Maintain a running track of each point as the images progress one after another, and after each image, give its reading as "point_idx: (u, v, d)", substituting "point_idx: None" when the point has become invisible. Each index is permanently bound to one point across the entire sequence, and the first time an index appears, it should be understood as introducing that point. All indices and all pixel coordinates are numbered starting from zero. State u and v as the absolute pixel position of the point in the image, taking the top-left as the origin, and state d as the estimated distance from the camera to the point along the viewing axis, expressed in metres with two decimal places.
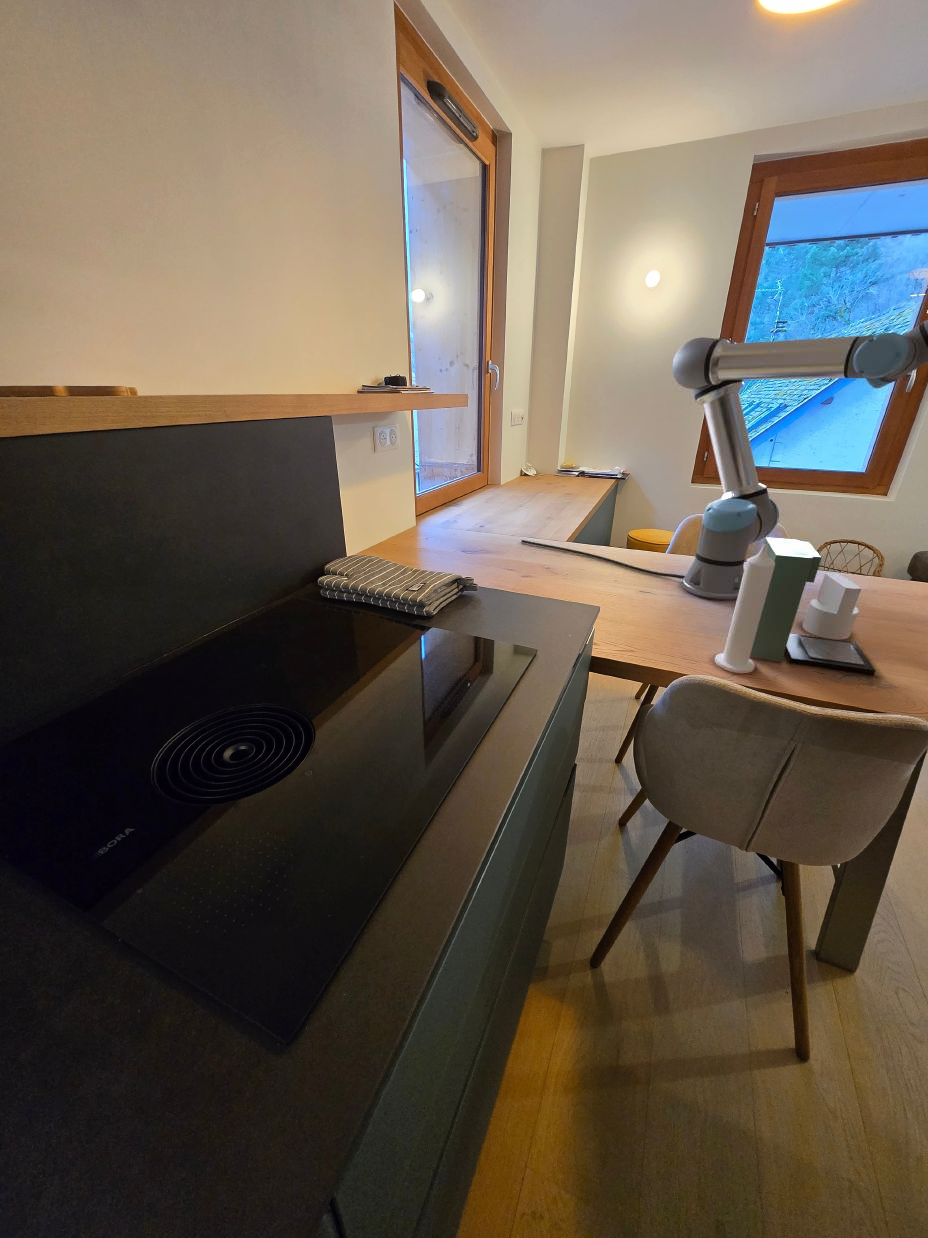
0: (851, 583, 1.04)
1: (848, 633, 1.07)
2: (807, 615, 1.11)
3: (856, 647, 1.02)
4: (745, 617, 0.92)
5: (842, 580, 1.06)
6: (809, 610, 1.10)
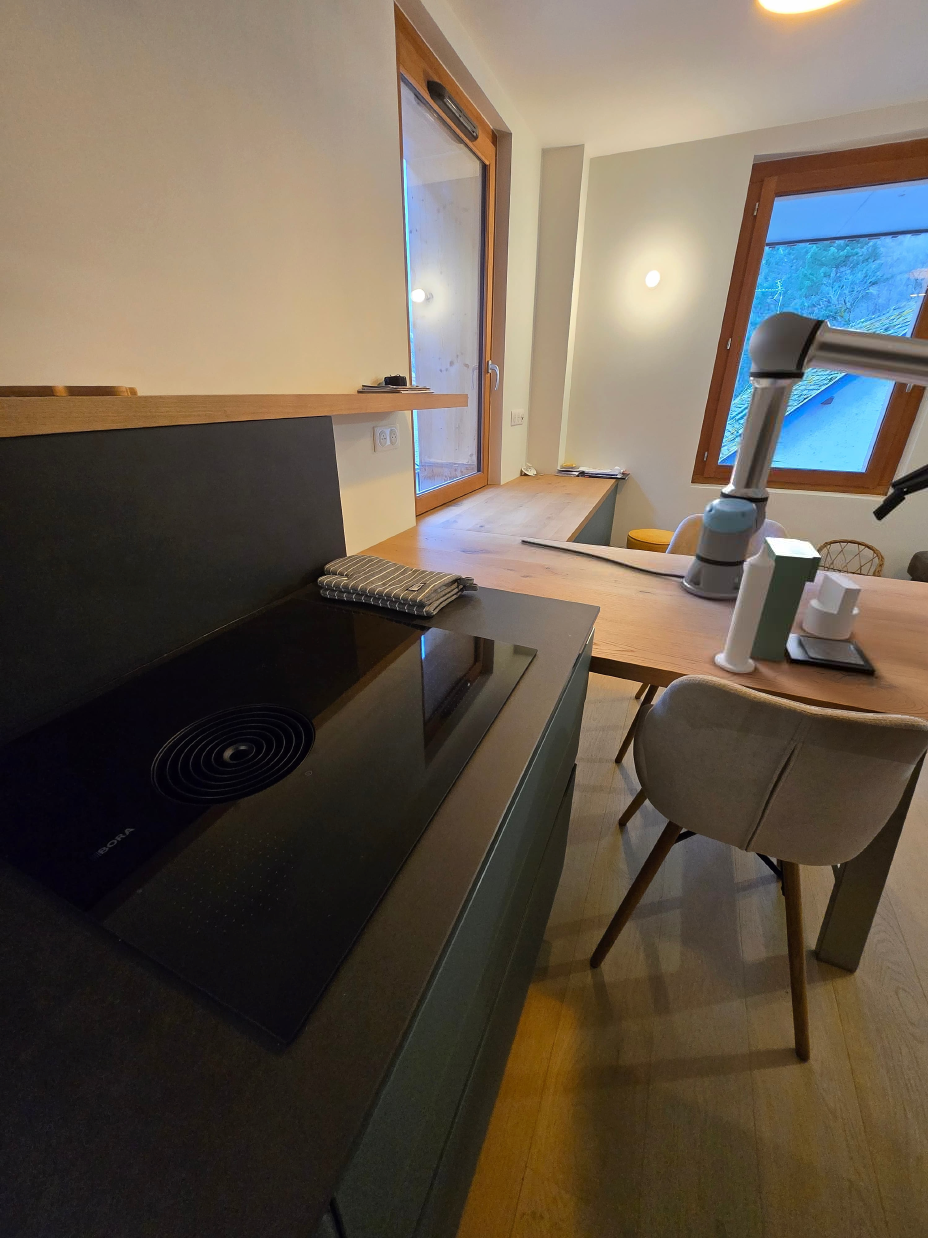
0: (851, 583, 1.04)
1: (848, 633, 1.07)
2: (807, 615, 1.11)
3: (856, 647, 1.02)
4: (745, 617, 0.92)
5: (842, 580, 1.06)
6: (809, 610, 1.10)
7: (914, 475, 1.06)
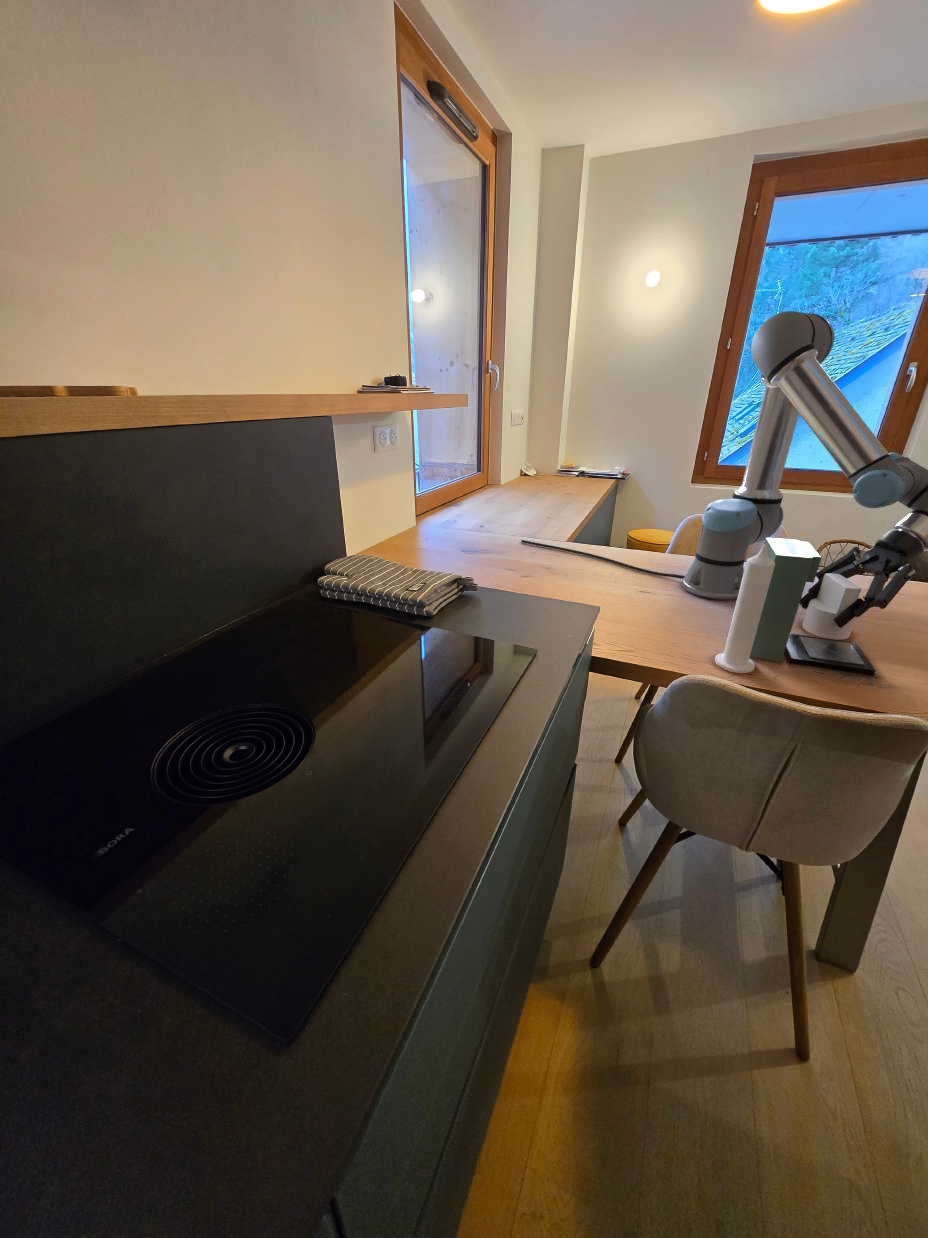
0: (851, 583, 1.04)
1: (848, 633, 1.07)
2: (807, 615, 1.11)
3: (856, 647, 1.02)
4: (745, 617, 0.92)
5: (842, 580, 1.06)
6: (809, 610, 1.10)
7: (836, 565, 1.12)
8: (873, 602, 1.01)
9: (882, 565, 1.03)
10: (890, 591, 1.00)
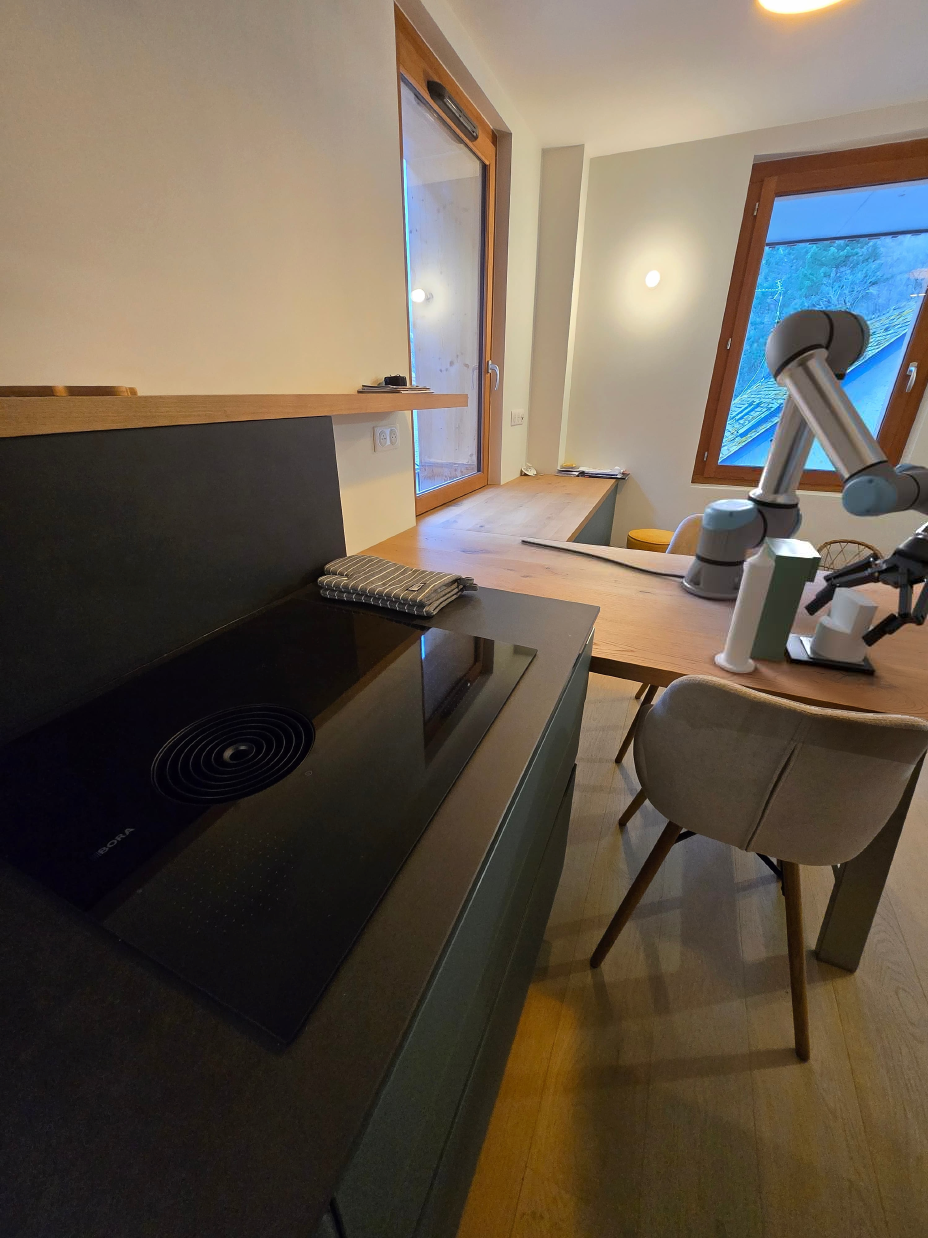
0: (866, 599, 0.93)
1: (862, 655, 0.96)
2: (816, 634, 1.00)
3: None
4: (745, 617, 0.92)
5: (856, 596, 0.95)
6: (819, 628, 0.99)
7: (847, 571, 1.01)
8: (909, 619, 0.88)
9: (902, 576, 0.92)
10: (925, 605, 0.87)
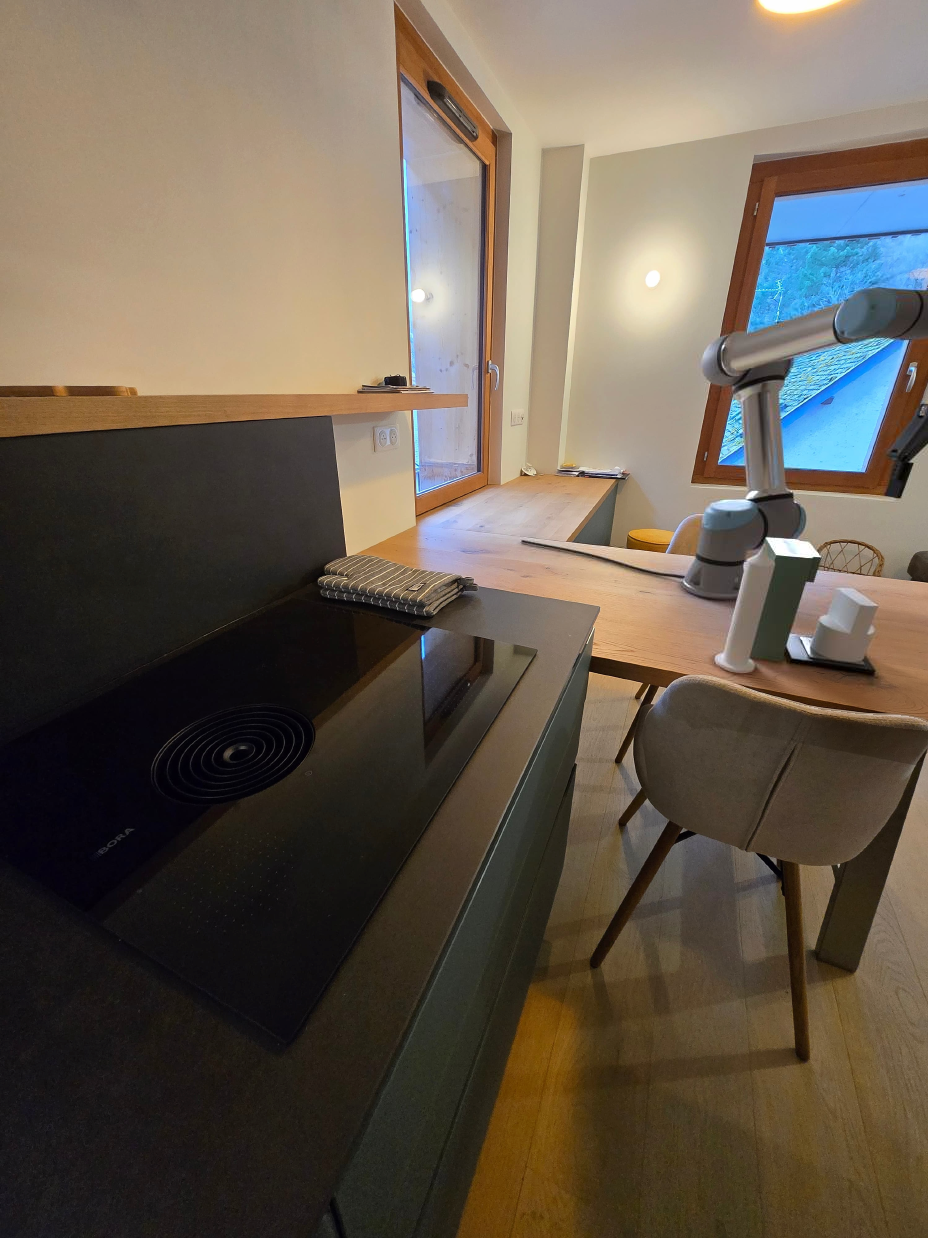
0: (866, 599, 0.93)
1: (862, 655, 0.96)
2: (816, 634, 1.00)
3: None
4: (745, 617, 0.92)
5: (856, 596, 0.95)
6: (819, 628, 0.99)
7: None
8: None
9: None
10: (899, 439, 0.90)
